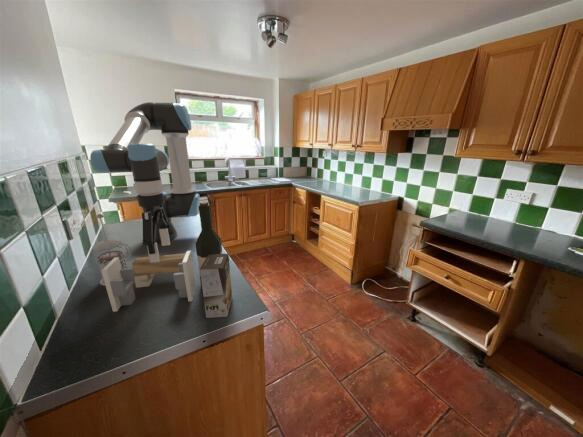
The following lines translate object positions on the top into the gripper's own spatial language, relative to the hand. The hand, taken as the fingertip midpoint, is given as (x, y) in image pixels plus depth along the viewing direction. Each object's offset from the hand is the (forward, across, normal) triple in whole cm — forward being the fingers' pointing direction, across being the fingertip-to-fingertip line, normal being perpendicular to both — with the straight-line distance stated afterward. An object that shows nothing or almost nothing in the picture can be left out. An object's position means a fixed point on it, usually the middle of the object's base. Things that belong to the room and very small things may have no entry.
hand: (161, 252), depth 84 cm
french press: (+11, -6, -18) cm, 22 cm away
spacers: (+11, 0, 0) cm, 11 cm away
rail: (+7, 0, 0) cm, 7 cm away
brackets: (+11, +10, 0) cm, 15 cm away
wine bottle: (+11, +6, +17) cm, 21 cm away
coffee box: (+12, +20, +20) cm, 30 cm away
